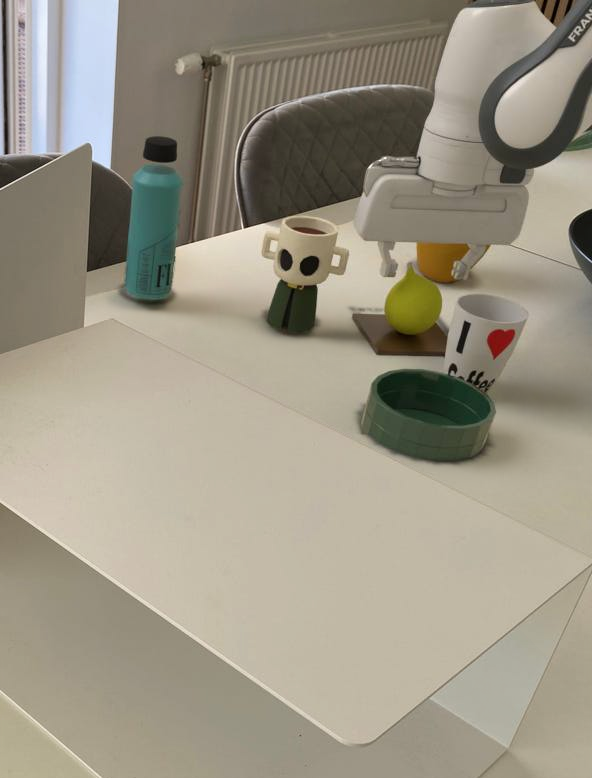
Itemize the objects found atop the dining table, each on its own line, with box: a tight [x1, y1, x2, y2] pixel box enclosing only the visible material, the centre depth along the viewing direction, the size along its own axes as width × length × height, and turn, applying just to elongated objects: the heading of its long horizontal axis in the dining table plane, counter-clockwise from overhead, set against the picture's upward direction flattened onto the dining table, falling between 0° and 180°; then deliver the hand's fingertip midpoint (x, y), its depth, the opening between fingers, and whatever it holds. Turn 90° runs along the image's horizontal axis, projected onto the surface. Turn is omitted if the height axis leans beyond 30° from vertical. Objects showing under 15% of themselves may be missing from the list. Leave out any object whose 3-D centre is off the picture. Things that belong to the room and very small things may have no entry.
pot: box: [360, 368, 497, 462], centre depth 108 cm, size 13×13×5 cm
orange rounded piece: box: [416, 243, 491, 284], centre depth 143 cm, size 11×11×13 cm
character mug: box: [261, 215, 350, 334], centre depth 125 cm, size 11×7×13 cm, turn 65°
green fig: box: [383, 253, 443, 335], centre depth 126 cm, size 7×7×10 cm
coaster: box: [351, 313, 448, 357], centre depth 130 cm, size 11×11×1 cm
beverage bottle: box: [123, 135, 184, 301], centre depth 126 cm, size 6×7×20 cm
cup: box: [443, 293, 530, 394], centre depth 117 cm, size 8×8×10 cm
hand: (423, 276), depth 125 cm, fingers open, 8 cm apart
